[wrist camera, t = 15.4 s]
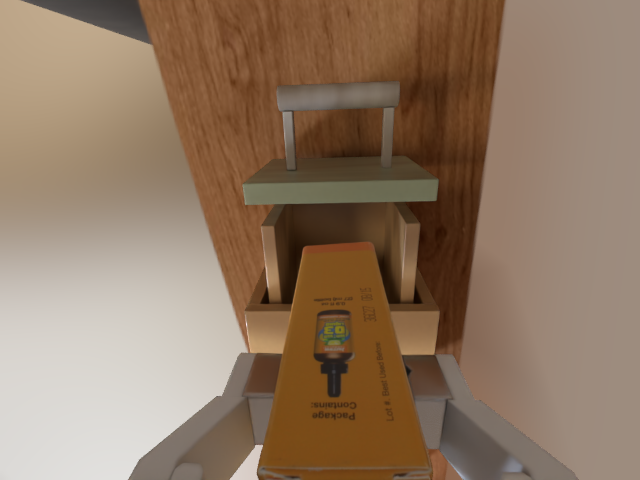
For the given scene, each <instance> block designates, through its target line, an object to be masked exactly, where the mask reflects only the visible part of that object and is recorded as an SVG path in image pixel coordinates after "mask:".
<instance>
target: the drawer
mask: <svg viewBox="0 0 640 480" xmlns="http://www.w3.org/2000/svg"><path fill="white" fill-rule="evenodd" d="M399 98H400V84H399V81H382V82H357V83H333V84H308V85H284V86H278V87H277V103H278V108H279V111H283V124H284V138H285V152H286V159H273V160H271V161H270V162H269V163H268V164H266V165H265V166H264V167H263V168H262V169H260V170H259V171H258V172H257V173H255V174H254V175H253V176H252V177H251V178H249V179H248V180H247V181H246V182H244V183H243V191H244V199H245V204H246V205H258V204H275V205H274V207H273V208H272V210H271V211H270V213H269V215H268V216H267V218H266V219H265V221H264V222H263V224H262V226H261V231H262V240H263V249H264V258H265V267H266V276H267V285H268V294H269V303H270V304H293V299H294V294H295V289H296V284H297V279H298V274H299V269H300V264H301V259H302V252H303V248H304V247H305V246H313V245H327V244H339V243H356V242H371V243H372V244H373V245H374V248H375V253H376V257H377V261H378V266H379V270H380V274H381V277H382V281H383V285H384V289H385V293H386V297H387V301H388V304H413V299H414V288H415V277H416V266H417V255H418V244H419V233H420V222H419V221H418V220H417V218H416V217H415V215H414V214H413V213H412V211H411V210H410V209H409V207H408V206H407V204H406V203H405V202H409V201H436V200H437V193H438V184H439V179H438V178H436V177H435V176H434V175H432V174H431V173H429V172H428V171H426V170H425V169H423V168H422V167H421V166H419V165H418V164H416V163H415V162H413V161H412V160H411V159H409V158H408V157H406V156H392V145H393V125H394V107H397V106H398V104H399ZM360 108H383V119H382V145H381V156H374V157H338V158H302V159H296V143H295V127H294V112H293V111H305V110H333V109H360Z"/></svg>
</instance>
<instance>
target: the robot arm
mask: <svg viewBox="0 0 640 480" xmlns="http://www.w3.org/2000/svg"><path fill="white" fill-rule="evenodd" d="M281 358H282V354H277V353H241V354H240V355H239V356H238V357H237V360H236V362H235V365H234V368H233V370H232V373H231V375H230V377H229V380H228V382H227V385H226V387H225V390H224V393H223V395H222V396H217V397H215V398H214V399H213V400H212V401H210V402H209V403H208V404H207V405H206V406H204V407H203V408H202V409H201V410H199V411H198V412H197V413H196V414H195V415H193V416H192V417H191V418H190V419H189V420H187V421H186V422H185V423H184V424H182V425H181V426H180V427H179V428H177V429H176V430H175V431H174V432H173V433H171V434H170V435H169V436H168V437H166V438H165V439H164V440H163V441H162V442H160V443H159V444H158V445H157V446H156V447H154V448H153V449H152V450H151V451H149V452H148V453H147V454H146V455H145V456H143V457H142V458H141V459H140V460H139V461H138V463H137V465H136V467H135V468H134V470H133V472H132V474H131V476H130V477H129V479H128V480H229V479H230V478H231V477H232V476H233V474H234V473H235V472H236V470H237V469H238V468H239V467H240V465H241V464H242V463H243V461H244V460H245V459H246V458H247V456H248V455H249V454H250V452H251V451H252V450H253V449H254V447H255V445H263V444H264V439H265V435H266V431H267V427H268V423H269V418H270V413H271V408H272V403H273V399H274V394H275V389H276V384H277V379H278V374H279V368H280V363H281ZM402 359H403V363H404V366H405V369H406V373H407V377H408V381H409V384H410V388H411V391H412V395H413V399H414V402H415V406H416V410H417V413H418V417H419V421H420V424H421V428H422V432H423V435H424V439H425V442H426V446H427V449H440V452H441V453H442V454H443V456H444V457H445V458H446V459H447V460H448V462H449V463H450V464H451V465H452V467H453V468H454V469H455V470H456V471H457V473H458V474H459V475H460V476H461V477H462V479H463V480H578V478H577V477H576V475H575V474H574V472H572V471H571V470H570V469H568V468H567V467H566V466H565V465H563V464H562V463H561V462H559V461H558V460H557V459H556V458H554V457H553V456H552V455H550V454H549V453H548V452H547V451H545V450H544V449H543V448H541V447H540V446H539V445H538V444H536V443H535V442H533V441H532V440H531V439H530V438H529V437H527V436H526V435H525V434H523V433H522V432H521V431H519V430H518V429H517V428H516V427H514V426H513V425H512V424H510V423H509V422H508V421H506V420H505V419H504V418H503V417H501V416H500V415H499V414H498V413H496V412H495V411H494V410H492V409H491V408H490V407H489V406H487V405H486V404H485V403H483V402H482V401H481V400H475V399H474V397H473V395H472V393H471V391H470V389H469V387H468V385H467V383H466V381H465V379H464V376H463V374H462V373H461V370H460V368H459V366H458V364H457V362H456V360H455V358H454V356H453V355H452V354H434V355H402Z"/></svg>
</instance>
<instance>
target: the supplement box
mask: <svg viewBox="0 0 640 480" xmlns="http://www.w3.org/2000/svg"><path fill="white" fill-rule="evenodd" d="M257 476H258V478H259V480H432V476H433V468H432V463H431V459H430V456H429V452H428V449H427V446H426V442H425V439H424V435H423V432H422V428H421V424H420V421H419V417H418V413H417V410H416V406H415V402H414V399H413V395H412V391H411V388H410V384H409V381H408V377H407V373H406V369H405V366H404V363H403V359H402V355H401V351H400V347H399V343H398V339H397V335H396V332H395V328H394V323H393V320H392V316H391V312H390V309H389V305H388V301H387V297H386V293H385V289H384V285H383V281H382V277H381V274H380V270H379V266H378V261H377V257H376V253H375V248H374V245H373V244H372V243H371V242H356V243H339V244H327V245H313V246H305V247H304V248H303V252H302V259H301V264H300V269H299V274H298V279H297V284H296V289H295V294H294V299H293V304H292V309H291V314H290V318H289V324H288V329H287V334H286V338H285V344H284V349H283V354H282V358H281V363H280V368H279V374H278V379H277V384H276V389H275V394H274V399H273V403H272V408H271V413H270V418H269V423H268V427H267V431H266V435H265V439H264V444H263V448H262V451H261V455H260V459H259V464H258V468H257Z"/></svg>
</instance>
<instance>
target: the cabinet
mask: <svg viewBox="0 0 640 480" xmlns="http://www.w3.org/2000/svg"><path fill="white" fill-rule="evenodd" d="M388 305H389V309H390V312H391V316H392V320H393V323H394V328H395V332H396V335H397V339H398V343H399V347H400V351H401V355H434V354H435V347H436V339H437V331H438V324H439V316H440V310H439V308H438V306H437V304H436V303H435V301H434V299H433V297H432V295H431V293H430V291H429V289H428V287H427V285H426V283H425V281H424V279H423V277H422V275H421V273H420V271H419V269H418V267H417V266H416V277H415V288H414V299H413V304H388ZM291 309H292V304H270V303H269V294H268V285H267V276H266V267H264V269H263V272H262V274H261V276H260V278H259V280H258V283H257V285H256V287H255V289H254V292H253V294H252V296H251V298H250V300H249V303H248V305H247V307H246V309H245V311H244V312H245V319H246V325H247V332H248V339H249V346H250V352H251V353H277V354H283V349H284V344H285V338H286V334H287V329H288V324H289V318H290V314H291Z"/></svg>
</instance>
